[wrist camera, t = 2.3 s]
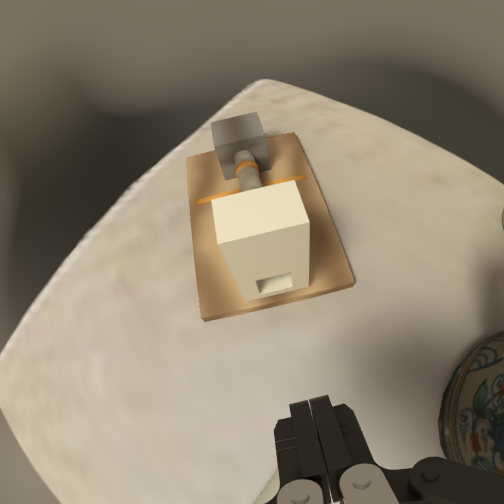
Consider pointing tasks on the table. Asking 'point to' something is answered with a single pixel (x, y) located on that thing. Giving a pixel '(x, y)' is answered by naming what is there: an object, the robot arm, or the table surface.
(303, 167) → the pipe stand
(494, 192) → the table surface
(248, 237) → the sleeve
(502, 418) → the beer stein
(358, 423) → the robot arm
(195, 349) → the table surface
